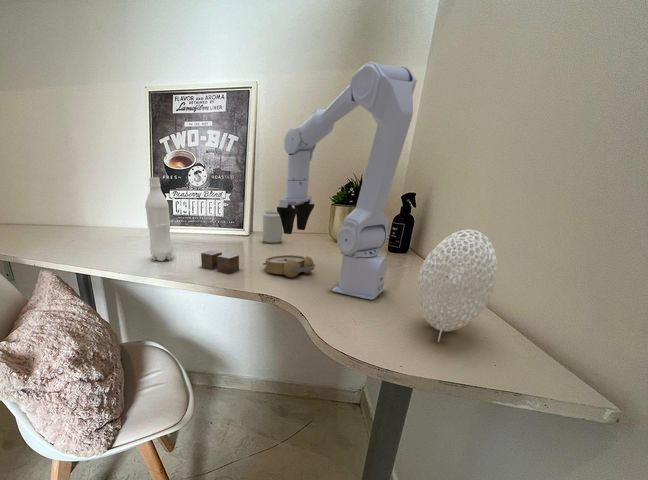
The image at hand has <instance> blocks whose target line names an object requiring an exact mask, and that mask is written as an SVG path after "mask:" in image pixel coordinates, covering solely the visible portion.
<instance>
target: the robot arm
mask: <svg viewBox="0 0 648 480" xmlns="http://www.w3.org/2000/svg"><path fill="white" fill-rule="evenodd" d="M417 82H418V80H417V78H416V77H415V75H414V73H413V72H412V70H411V69H410V68H408V67H406V66H393V65H387V64H380V63H377V62H374V61H368V62H366V63H364V64H363V65H362V66H361V67H360V68H359V69H358V70H357V71H356V72H354V73H353V74H352V75H351V78H350V81H349V85H347V86H346V88H345V89H344V90H342V92H341V93H340V94H339V95H338V96H336V98H335V99H334V100H333V101H332V102H331V103H330V104H329V106H328V107H327V108H325V109H323V108H320V109H315V110H313V112H312V115H310V116H309V117H308V118H307V119H306V120H305V121H304V122H302V123H301V124H300V125H299V127H296V128H295V127H294V128H293V127H290V128H289V129H288V130H287V132H286V133H285V136H284V139H283V148H284V151H285V152H286V154H287V171H286V172H287V173H286V192H285V196H282V198H281V199H280V198H279V200H278V201H279V205H278V206H276V210H277V212H278V213H279V216H280V218H281V221H282V232H283V234H284V235H291V234H292V233H293V230H294V222H295V219H296V229H297V230H298V231H305V230H306V227H307V224H308V222H309V218H310V215H311V213H312V211H313V209H314V208H315V203H312V202H313V195H308V193H309V182H310V181H309V179H310V166H311V161H312V159H313V154H314V151H315V149H316V147H317V144H318V143H319V142H321V141H322V140H323V139H325V138H326V137H327V136H328V135H330V133H332V132H333V130H334V126H335V123H337V122H338V121H340V120H341V119H342V118H344V117H345V116H347V115H348V114H350V113H351V112H352V111H353V110H356V108H358V107H359V106H360V107H362V108H363V109H365V110H366V111H367V112H369V114H371V116H372V118H373V119H374V121H375V123H376V125H377V126H376V129H375V133H374V136H373V140H372V141H373V142H372V145H371V149H370V152H369V155H368V156H369V157H368V160H367V164H366V168H365V172H364V175H363V179H362V183H361V186H360V190H359V194H358V198H357V202H356V206H355V208H354V209H353V210H352V211H351V212H350V213H348V215H347V216H346V217H345V218H344V221H343V224H342V226H341V228H340V229H339V231H338V232H337V236H336V244H337V248H338V249H339V251H340V254H341V255H342V258H341V266H340V274H339V282H338V285H337V286H335V287H333V288H332V289H331V292H333V293H338V294H342V295H346V296H352V297H357V298H361V299H364V300H365V299H366V300H370V301H373V300H374V299H376V298H377V297H378V296H379V295H381V294H382V293H383V292H384V291H385V288H384V287H385V280H386V275H387V269H388V258H386V257H384V256H380V255H378V254H380V250H381V249H383V248H384V247H385V245H386V244H387V241H388V237H389V232H388V226H389V223H390V219H389V218H388V217H387V215H386V214H385V213H384V211H385V207H386V203H387V200H388V197H389V194H390V190H391V187H392V185H393V180H394V177H395V174H396V172H397V168H398V165H399V160H400V158H401V156H402V155H401V154H402V151H403V148H404V145H405V142H406V139H407V136H408V131H409V129H410V125H411V122H412V119H413V114H414V101H413V100H414V99H413V98H414V97H413V96H414V92H415V88H416V85H417Z"/></svg>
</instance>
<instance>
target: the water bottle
mask: <svg viewBox="0 0 648 480" xmlns="http://www.w3.org/2000/svg"><path fill="white" fill-rule="evenodd" d="M148 178H149V179H148V181H149V183H148V184H149V185H148V186H149V192H148V195H147V198H146V201H145V203H144V204H145V206H144V207H145V212H146V220H147V224H146V225H147V228H148V231H149V238H150V241H149V242H150V243H149V244H150V245H149V251H150V255H151V258H152V259H153V261H158V262H164V261H165V260H168V261H170V260H171V259H172V258H173V253H174V250H173V249H174V248H173V244H172V240H171V221H170V219H171V218H170V208H169V207H170V205H169V202H168V200H167V198H166V196H165V195H164V193H163V192H162V188H161V186H162V185H161V181H160V177H158V176H156V177H155V176H154V177H148Z"/></svg>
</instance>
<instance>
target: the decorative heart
mask: <svg viewBox="0 0 648 480" xmlns="http://www.w3.org/2000/svg"><path fill="white" fill-rule="evenodd" d="M466 257H467V259H466ZM497 266H498V260H497V256H496V250H495V247H494V245H493V243H492V242H491V240H490V239H489V238H488V236H487V235H485V234H484V233H482V232H480V231H479V230H476V229H471V228H470V229H469V228H468V229H461V230H459V231H455V232H452V233H451V234H449V235H448V236H447V237H445V238H443V240H441V241H440V243H438V244H437V246H435V248H433V249H432V250H431V251H430V252H429V253H428V255H427V256H426V257H425V259H424V260H423V262H422V264H421V266H420V269H419V271H418V274H417V278H416V285H415V296H416V302H417V306H418V309H419V312H420V314H421V315H422V317H423V318H424V320H425V321H426V322H427V323H428V324H429V326H431V327H432V328H434V329H435V330H436V331H439V333H438V339H437V343H439V342H440V340H441V336H442V333H443V332H452V331H456V330H459V329H461V328H464V327H466V326H467V325H468V324H470V323H471V322H473V321H474V320H475V319H476V318H477V317H479V315H480V314H481V313H482V312H483V311H484V309H485V308H486V306H487V305H488V304H489V301H490V300H491V298H492V295H493V293H494V291H495V286H496V281H497V274H498V273H497V272H498V267H497ZM453 267H454V268H453ZM448 271H449V272H448ZM442 276H443V278H442ZM446 277H447V279H446ZM441 278H442V279H441ZM467 281H468V283H467ZM475 284H476V285H475ZM465 304H466V305H465ZM441 308H442V310H441Z"/></svg>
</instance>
